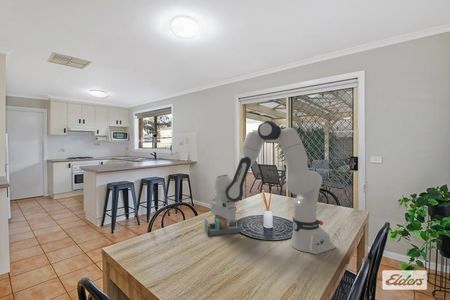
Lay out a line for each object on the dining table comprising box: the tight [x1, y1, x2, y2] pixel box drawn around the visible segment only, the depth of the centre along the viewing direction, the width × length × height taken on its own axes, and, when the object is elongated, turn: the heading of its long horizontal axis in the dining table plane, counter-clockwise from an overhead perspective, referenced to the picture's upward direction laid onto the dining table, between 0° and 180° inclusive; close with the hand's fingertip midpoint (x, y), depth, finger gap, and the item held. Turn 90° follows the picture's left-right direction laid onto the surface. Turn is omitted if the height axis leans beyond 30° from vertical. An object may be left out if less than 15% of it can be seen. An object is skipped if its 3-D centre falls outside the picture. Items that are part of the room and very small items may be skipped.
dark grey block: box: [204, 218, 242, 237], centre depth 134 cm, size 20×11×6 cm, turn 105°
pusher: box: [214, 216, 219, 230], centre depth 133 cm, size 1×8×7 cm, turn 15°
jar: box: [217, 215, 228, 229], centre depth 134 cm, size 6×6×9 cm
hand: (222, 223), depth 134 cm, fingers open, 8 cm apart
